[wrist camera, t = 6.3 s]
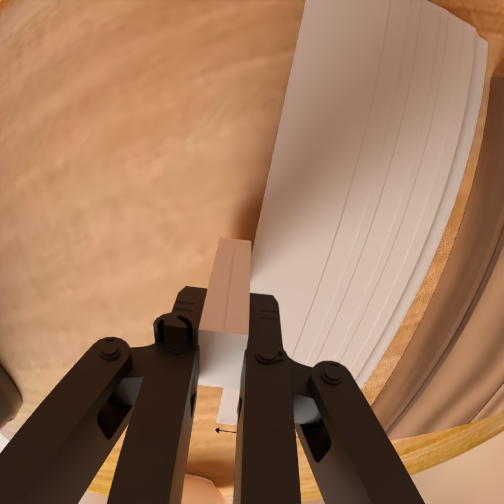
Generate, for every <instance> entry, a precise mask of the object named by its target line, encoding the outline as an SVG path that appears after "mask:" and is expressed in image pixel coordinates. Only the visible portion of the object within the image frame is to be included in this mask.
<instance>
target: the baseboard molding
mask: <svg viewBox="0 0 504 504" xmlns="http://www.w3.org/2000/svg"><path fill="white" fill-rule="evenodd" d="M488 43H489V42H487V41H486V40H485V39H483V38H482V37H480V36H479V35H478V33H477V31H476V28H475V27H473V26H472V25H470V24H469V23H467V22H466V21H463V20H461V19H460V18H458V17H456V16H455V15H453V14H451V13H450V12H449V11H448V10H446V9H444V8H443V7H439V6H437V5H436V4H434V3H432V2H430V1H428V0H305V5H304V10H303V14H302V19H301V24H300V28H299V33H298V38H297V43H296V47H295V52H294V57H293V61H292V66H291V71H290V76H289V80H288V85H287V90H286V94H285V99H284V104H283V109H282V113H281V118H280V123H279V127H278V132H277V137H276V141H275V146H274V151H273V156H272V160H271V165H270V170H269V174H268V179H267V184H266V189H265V193H264V198H263V203H262V207H261V212H260V217H259V221H258V226H257V231H256V236H255V240H254V245H253V250H252V254H251V267H250V293H258V294H268V295H273V296H274V297H275V299H276V300H277V302H278V303H279V313H280V322H281V332H282V342H283V348H284V350H285V351H286V353H287V355H288V356H289V357H290V358H291V359H292V360H294V361H296V362H298V363H300V364H303V365H307V366H310V367H314V366H315V365H316V364H317V363H318V362H321V361H335V362H338V363H340V364H342V365H344V366H345V367H346V368H347V369H348V370H349V371H350V373H351V374H352V376H353V378H354V379H355V381H356V383H357V384H358V386H359V388H360V390H361V389H362V387H363V386H364V384H365V383H366V381H367V380H368V378H369V377H370V375H371V374H372V372H373V370H374V369H375V367H376V366H377V364H378V362H379V361H380V359H381V358H382V356H383V354H384V353H385V351H386V349H387V348H388V346H389V344H390V342H391V341H392V339H393V337H394V336H395V334H396V332H397V330H398V328H399V327H400V325H401V323H402V321H403V319H404V317H405V315H406V314H407V312H408V310H409V308H410V306H411V304H412V302H413V300H414V298H415V296H416V294H417V292H418V290H419V288H420V286H421V284H422V282H423V279H424V277H425V275H426V273H427V271H428V269H429V266H430V264H431V262H432V260H433V257H434V255H435V253H436V250H437V248H438V245H439V243H440V240H441V238H442V235H443V233H444V230H445V228H446V225H447V223H448V220H449V217H450V214H451V212H452V209H453V206H454V203H455V200H456V197H457V194H458V191H459V188H460V185H461V182H462V178H463V175H464V172H465V168H466V165H467V161H468V158H469V154H470V150H471V146H472V142H473V138H474V134H475V129H476V125H477V120H478V115H479V110H480V105H481V99H482V93H483V87H484V80H485V73H486V65H487V55H488ZM239 394H240V389H231V388H223V391H222V396H221V400H220V405H219V410H218V414H217V419H216V423H223V424H230V425H237V416H238V413H236V412H237V406H238V400H239ZM295 430H296V429H295ZM216 431H217V432H218V433H219V431H223V430H219V428H217V429H216ZM224 432H230V431H224ZM232 433H237V432H232Z"/></svg>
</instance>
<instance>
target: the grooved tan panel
mask: <svg viewBox="0 0 504 504" xmlns="http://www.w3.org/2000/svg"><path fill="white" fill-rule="evenodd" d="M371 408H372V410H373V412H374V414H375V415H376V417H377V419H378V421H379V422H380V424H381V426H382V428H383V429H384V431H385V433H386V435H387V436H388V438H389V440H394V439H400V438H406V437H412V436H417V435H422V434H427V433H432V432H436V431H441V430H445V429H449V428H453V427H457V426H461V425H464V424H469V423H471V422H475V421H478V420H481V419H484V418H487V417H491V416H493V415H496V414H499V413H501V412H502V411H503V410H504V78H491V85H490V95H489V103H488V111H487V118H486V124H485V130H484V136H483V141H482V146H481V151H480V156H479V160H478V165H477V169H476V173H475V177H474V181H473V185H472V189H471V192H470V196H469V200H468V203H467V206H466V210H465V213H464V216H463V219H462V222H461V225H460V228H459V231H458V234H457V237H456V240H455V243H454V245H453V248H452V251H451V254H450V256H449V259H448V261H447V264H446V266H445V269H444V271H443V274H442V276H441V279H440V281H439V283H438V286H437V288H436V290H435V292H434V295H433V297H432V299H431V301H430V303H429V305H428V308H427V310H426V312H425V314H424V316H423V318H422V320H421V322H420V324H419V326H418V328H417V330H416V332H415V334H414V336H413V337H412V339H411V341H410V343H409V345H408V347H407V349H406V350H405V352H404V354H403V356H402V357H401V359H400V361H399V363H398V364H397V366H396V368H395V370H394V371H393V373H392V375H391V376H390V378H389V379H388V381H387V383H386V384H385V386H384V387H383V389H382V391H381V392H380V394H379V395H378V397H377V398H376V400H375V401H374V403H373V404H372V406H371Z"/></svg>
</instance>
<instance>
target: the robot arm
mask: <svg viewBox="0 0 504 504" xmlns="http://www.w3.org/2000/svg"><path fill="white" fill-rule="evenodd" d="M250 267H251V241H249V240H240V239H231V238H222V237H220V240H219V244H218V248H217V252H216V257H215V261H214V265H213V269H212V273H211V277H210V282H209V286H208V289H206V288H198V287H190V286H186V287H184V288H183V289H182V290H181V291H180V292H179V293H178V295H177V298H176V301H175V304H174V306H173V309H172V312H171V313H167V314H163V315H161V316H160V317H158V318H157V319H156V320H155V321H154V323H153V326H154V336H155V343H154V344H152V345H149V346H144V347H132V348H130V347H129V345H128V344H127V342H126V341H124V340H122V339H121V338H116V337H106V338H103V339H100V340H98V341H97V342H96V343H94V344H93V345H92V346H91V347H90V349H89V350H88V351H87V352H86V353H85V354H84V355H83V356H82V357H81V358H80V360H79V361H78V362H77V363H76V364H75V365H74V366H73V367H72V368H71V370H70V371H69V372H68V373H67V374H66V375H65V376H64V377H63V379H62V380H61V381H60V382H59V383H58V384H57V385H56V386H55V388H54V389H53V390H52V391H51V392H50V393H49V395H48V396H47V397H46V398H45V399H44V400H43V402H42V403H41V404H40V405H39V406H38V407H37V409H36V410H35V411H34V412H33V413H32V415H31V416H30V417H29V418H28V419H27V421H26V422H25V423H24V424H23V425H22V427H21V428H20V429H19V430H18V432H17V433H16V434H15V435H14V437H13V438H12V439H11V440H10V442H9V443H8V444H7V445H6V447H5V448H4V449H3V450H2V452H1V453H0V504H78V503H79V501H80V499H81V498H82V496H83V495H84V493H85V491H86V490H87V488H88V487H89V485H90V484H91V482H92V480H93V479H94V477H95V476H96V474H97V472H98V471H99V469H100V468H101V466H102V464H103V463H104V461H105V460H106V458H107V457H108V455H109V453H110V452H111V450H112V449H113V447H114V446H115V444H116V442H117V441H118V439H119V438H120V436H121V435H122V433H123V431H124V430H125V428H126V427H127V425H128V428H127V431H126V434H125V438H124V441H123V445H122V448H121V452H120V455H119V459H118V462H117V466H116V470H115V474H114V477H113V481H112V485H111V489H110V493H109V497H108V501H107V504H181V500H182V493H183V485H184V478H185V471H186V464H187V457H188V450H189V444H190V437H191V431H192V424H193V418H194V411H195V405H196V399H197V384H198V385H204V386H212V387H221V388H231V389H240V394H239V400H238V406H237V412H236V413H238V416H237V435H236V455H235V475H234V495H233V504H301V494H300V480H299V467H298V455H297V443H296V432H297V434H298V437H299V439H300V442H301V444H302V447H303V450H304V452H305V455H306V457H307V460H308V462H309V465H310V467H311V470H312V472H313V475H314V477H315V480H316V482H317V485H318V487H319V490H320V492H321V495H322V497H323V500H324V502H325V504H425V503H424V501H423V499H422V497H421V495H420V494H419V492H418V490H417V488H416V486H415V484H414V483H413V481H412V479H411V477H410V475H409V474H408V472H407V470H406V468H405V466H404V465H403V463H402V461H401V459H400V457H399V456H398V454H397V452H396V450H395V449H394V447H393V445H392V443H391V442H390V440H389V438H388V436H387V435H386V433H385V431H384V429H383V428H382V426H381V424H380V422H379V421H378V419H377V417H376V415H375V414H374V412H373V410H372V408H371V407H370V405H369V403H368V402H367V400H366V398H365V396H364V395H363V393H362V391H361V390H360V388H359V386H358V384H357V383H356V381H355V379H354V378H353V376H352V374H351V373H350V371H349V370H348V369H347V368H346V367H345V366H344V365H342V364H340V363H338V362H335V361H321V362H318V363H317V364H316V365H315V366H314V367H310V366H307V365H303V364H300V363H298V362H296V361H294V360H292V359H291V358H290V357H289V356H288V355H287V353H286V351H285V350H284V348H283V342H282V332H281V322H280V313H279V303H278V302H277V300H276V299H275V297H274V296H273V295H268V294H258V293H250ZM21 406H22V400H21V396H20V394H19V392H18V390H17V389H16V387H15V385H14V384H13V382H12V381H11V379H10V378H9V377H8V375H7V374H6V373H5V371H4V370H3V369H2V368H1V367H0V430H1V429H2V428H3V427H4V426H5V425H6V424H7V422H8V421H11V420H13V419H14V418H15V417H16V415H17V413H18V411H19V409H20V408H21ZM295 429H296V432H295Z"/></svg>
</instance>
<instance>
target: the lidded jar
mask: <svg viewBox="0 0 504 504" xmlns="http://www.w3.org/2000/svg"><path fill="white" fill-rule="evenodd" d="M181 504H227V503H226V500H225V498H224V496H223V494H222V493H221V492H220V490H219V489H218V488H217V487H215V486H214V483H213V482H212V481H211V480H209V479H207V478H204V477H201V476H197V475H191V474H185V478H184V485H183V493H182V500H181Z"/></svg>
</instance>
